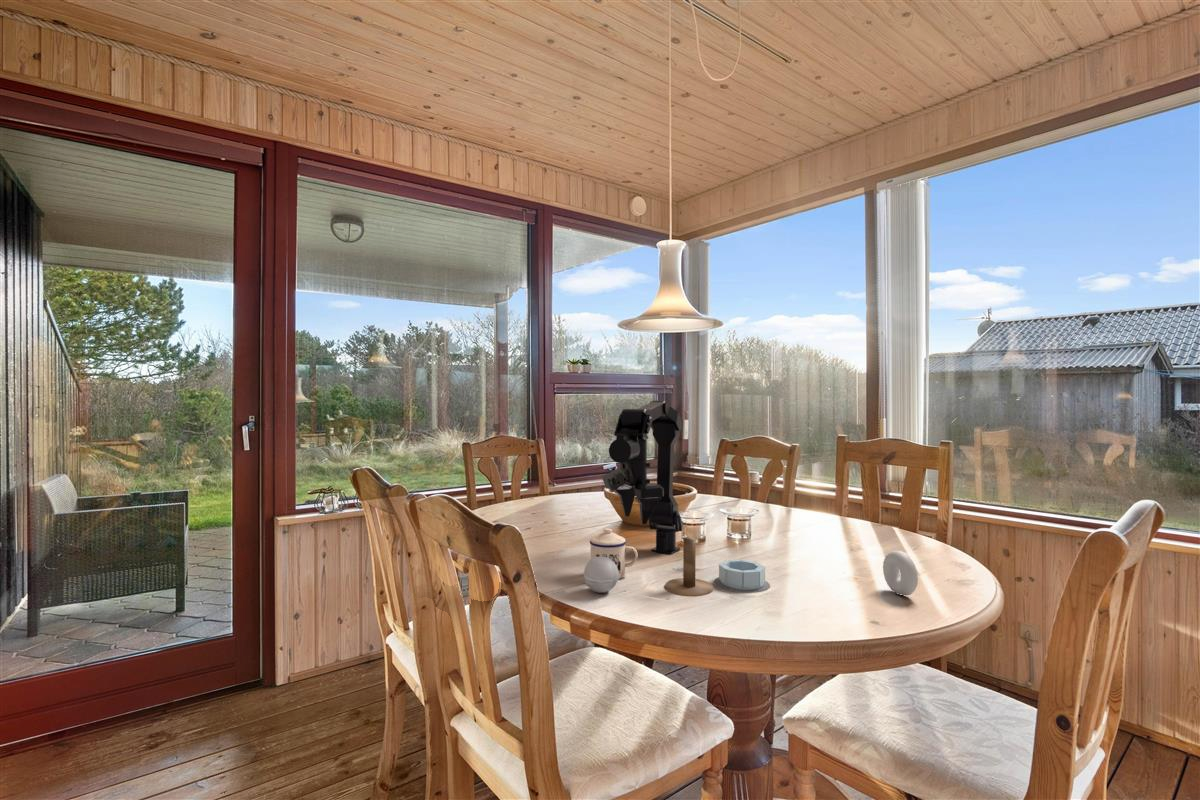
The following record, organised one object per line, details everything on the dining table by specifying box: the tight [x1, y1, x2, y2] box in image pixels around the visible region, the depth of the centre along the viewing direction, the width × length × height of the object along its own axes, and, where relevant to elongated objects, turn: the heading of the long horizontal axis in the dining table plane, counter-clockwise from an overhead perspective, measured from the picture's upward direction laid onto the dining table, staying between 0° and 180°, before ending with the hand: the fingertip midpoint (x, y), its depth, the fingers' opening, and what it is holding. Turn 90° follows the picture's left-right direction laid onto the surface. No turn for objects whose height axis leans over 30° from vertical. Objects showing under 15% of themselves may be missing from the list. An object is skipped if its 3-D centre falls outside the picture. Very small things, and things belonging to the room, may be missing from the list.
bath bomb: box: [583, 556, 619, 594], centre depth 130 cm, size 8×8×8 cm
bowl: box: [718, 559, 766, 590], centre depth 135 cm, size 10×10×4 cm
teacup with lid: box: [589, 527, 639, 580], centre depth 141 cm, size 12×9×12 cm
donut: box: [882, 549, 919, 596], centre depth 128 cm, size 10×3×10 cm, turn 6°
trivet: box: [713, 576, 771, 594], centre depth 135 cm, size 13×13×1 cm
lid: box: [665, 536, 714, 597], centre depth 131 cm, size 11×11×12 cm
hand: (635, 520), depth 143 cm, fingers open, 9 cm apart
